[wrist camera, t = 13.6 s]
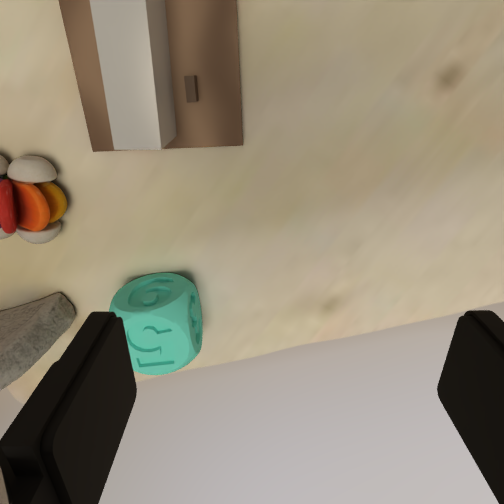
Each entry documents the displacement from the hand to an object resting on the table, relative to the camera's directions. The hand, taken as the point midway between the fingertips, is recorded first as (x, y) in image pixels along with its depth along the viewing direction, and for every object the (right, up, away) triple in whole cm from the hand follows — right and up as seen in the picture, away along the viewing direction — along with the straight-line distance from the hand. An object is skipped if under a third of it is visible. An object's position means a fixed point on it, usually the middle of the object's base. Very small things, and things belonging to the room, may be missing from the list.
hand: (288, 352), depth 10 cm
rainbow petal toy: (-24, +9, +27) cm, 37 cm away
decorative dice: (-11, -3, +33) cm, 35 cm away
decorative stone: (-27, -5, +33) cm, 43 cm away
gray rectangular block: (-10, +20, +20) cm, 30 cm away
